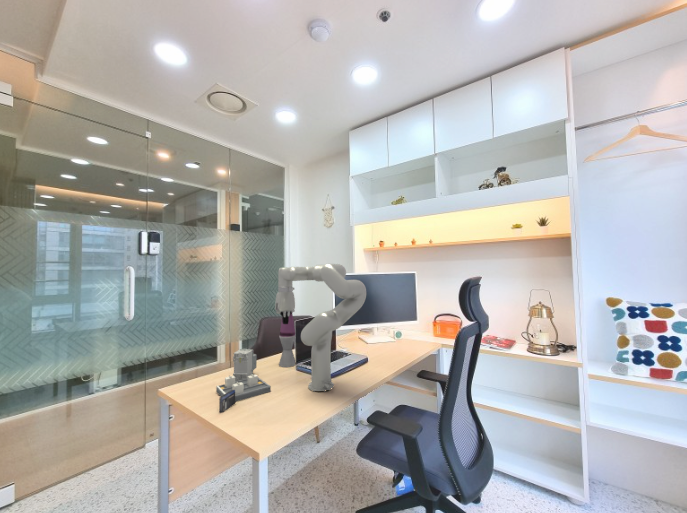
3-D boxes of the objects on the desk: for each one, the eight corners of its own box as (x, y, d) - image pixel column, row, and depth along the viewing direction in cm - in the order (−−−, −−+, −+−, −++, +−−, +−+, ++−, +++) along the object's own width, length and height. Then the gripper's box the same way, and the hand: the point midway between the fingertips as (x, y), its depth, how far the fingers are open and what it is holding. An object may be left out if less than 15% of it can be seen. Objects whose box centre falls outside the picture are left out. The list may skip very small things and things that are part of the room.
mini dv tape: (222, 412, 117) (222, 397, 118) (219, 412, 118) (219, 397, 118) (235, 403, 125) (235, 389, 125) (232, 403, 126) (232, 389, 126)
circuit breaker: (257, 373, 162) (257, 346, 163) (246, 383, 148) (246, 353, 149) (244, 373, 163) (245, 346, 164) (232, 382, 149) (233, 353, 150)
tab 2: (243, 393, 131) (243, 382, 131) (234, 395, 128) (234, 385, 128) (241, 390, 133) (241, 380, 133) (232, 393, 130) (232, 383, 131)
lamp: (281, 361, 183) (281, 298, 185) (298, 361, 182) (298, 298, 184) (276, 367, 172) (276, 300, 174) (293, 367, 171) (293, 300, 173)
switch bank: (270, 391, 137) (270, 385, 138) (227, 404, 125) (227, 397, 125) (256, 381, 151) (256, 375, 151) (216, 391, 138) (216, 385, 138)
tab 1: (235, 385, 139) (235, 376, 139) (226, 387, 137) (227, 378, 137) (233, 383, 142) (233, 374, 142) (224, 386, 139) (225, 376, 139)
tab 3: (257, 384, 141) (257, 374, 141) (249, 386, 138) (249, 376, 138) (255, 382, 143) (255, 373, 143) (247, 384, 140) (247, 375, 141)
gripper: (294, 289, 164) (294, 321, 163) (269, 290, 155) (269, 324, 154) (300, 289, 158) (300, 323, 157) (275, 291, 149) (275, 326, 148)
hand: (285, 323), depth 156 cm, fingers closed
